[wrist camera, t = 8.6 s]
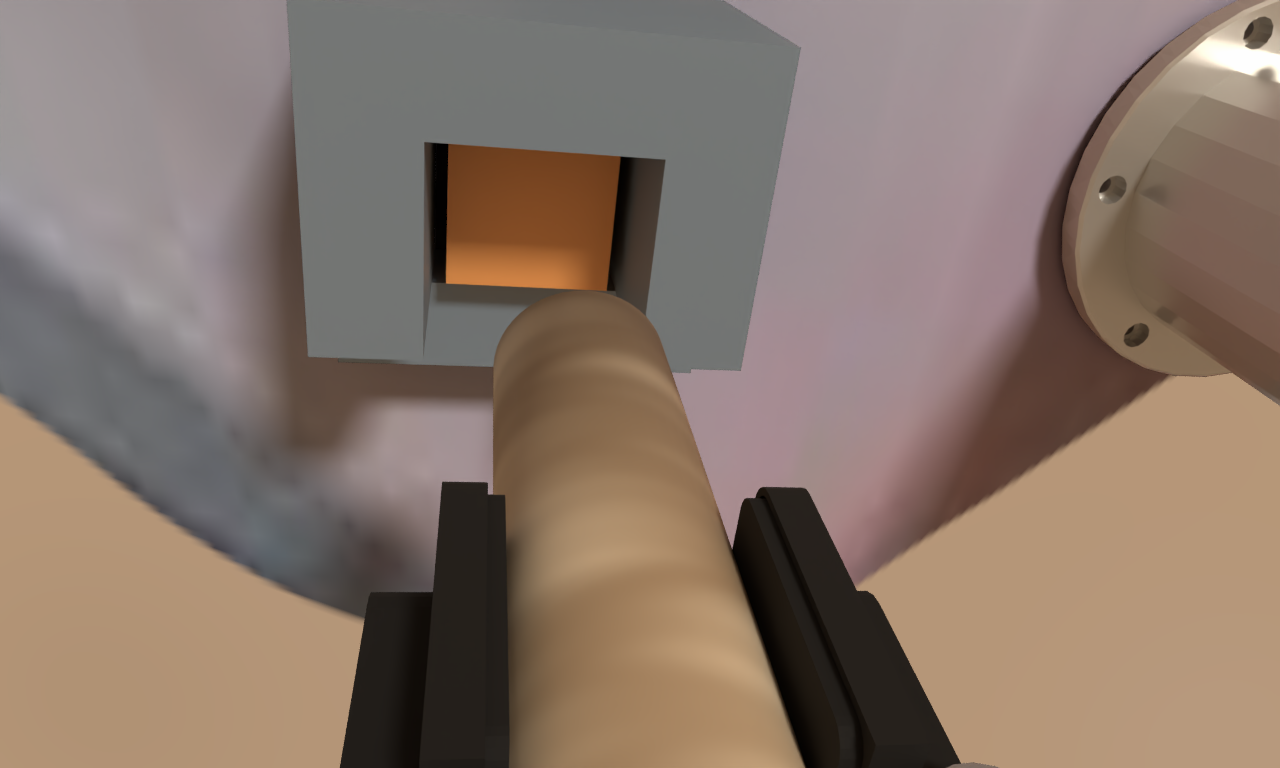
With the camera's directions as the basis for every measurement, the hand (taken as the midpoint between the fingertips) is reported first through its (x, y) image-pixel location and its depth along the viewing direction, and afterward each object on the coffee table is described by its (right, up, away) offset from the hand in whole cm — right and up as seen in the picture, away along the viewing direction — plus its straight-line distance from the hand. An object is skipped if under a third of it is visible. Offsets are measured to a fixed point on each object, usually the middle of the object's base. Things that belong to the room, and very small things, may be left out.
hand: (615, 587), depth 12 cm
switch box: (-3, +9, +15) cm, 18 cm away
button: (-3, +8, +14) cm, 17 cm away
